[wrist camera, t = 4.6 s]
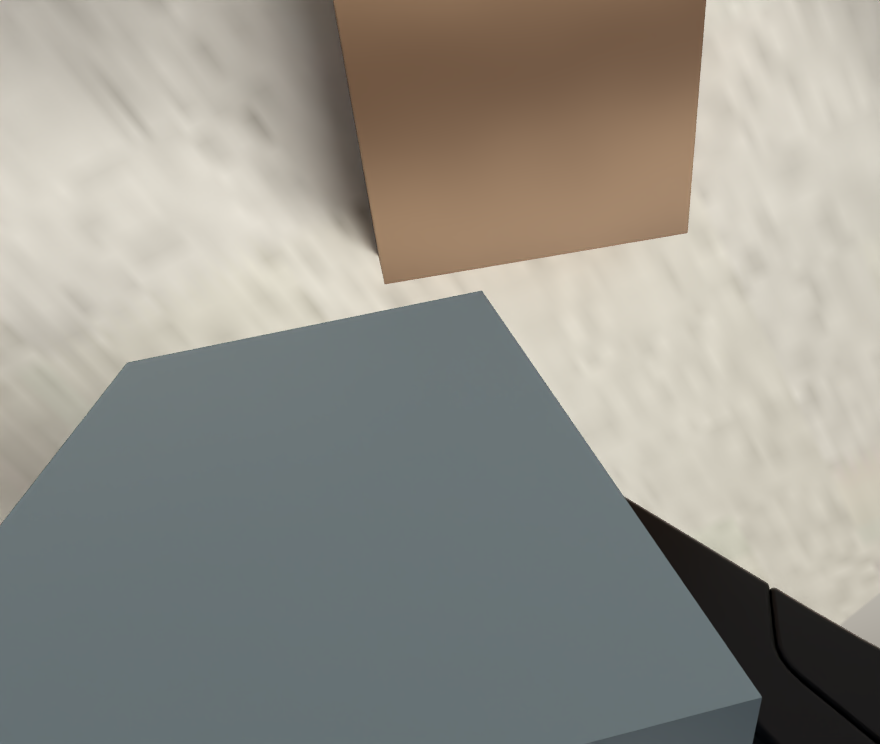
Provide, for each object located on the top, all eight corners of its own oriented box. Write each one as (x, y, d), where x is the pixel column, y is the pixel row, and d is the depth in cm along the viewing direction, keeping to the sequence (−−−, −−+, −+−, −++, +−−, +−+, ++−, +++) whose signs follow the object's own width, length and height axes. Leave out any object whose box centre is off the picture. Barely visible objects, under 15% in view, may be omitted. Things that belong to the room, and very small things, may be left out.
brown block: (639, 214, 19) (687, 232, 16) (378, 257, 18) (384, 284, 16) (652, -127, 15) (720, -176, 12) (317, -88, 14) (310, -132, 11)
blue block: (513, 543, 10) (693, 1023, 5) (243, 606, 10) (132, 1193, 5) (481, 290, 8) (761, 697, 3) (127, 362, 8) (-366, 994, 2)
